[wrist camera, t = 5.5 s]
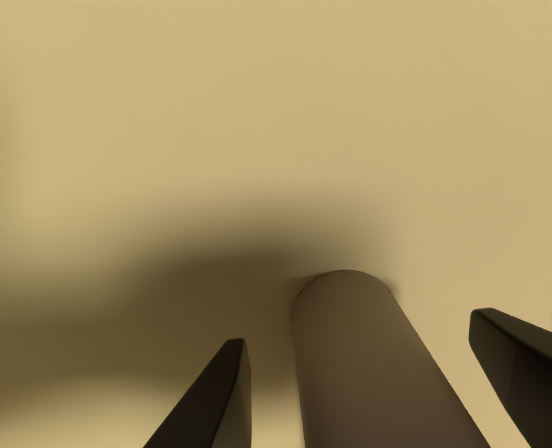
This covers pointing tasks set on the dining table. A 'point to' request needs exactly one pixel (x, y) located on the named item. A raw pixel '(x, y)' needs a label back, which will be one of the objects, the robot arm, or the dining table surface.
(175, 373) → the dining table surface
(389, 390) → the tethered block
